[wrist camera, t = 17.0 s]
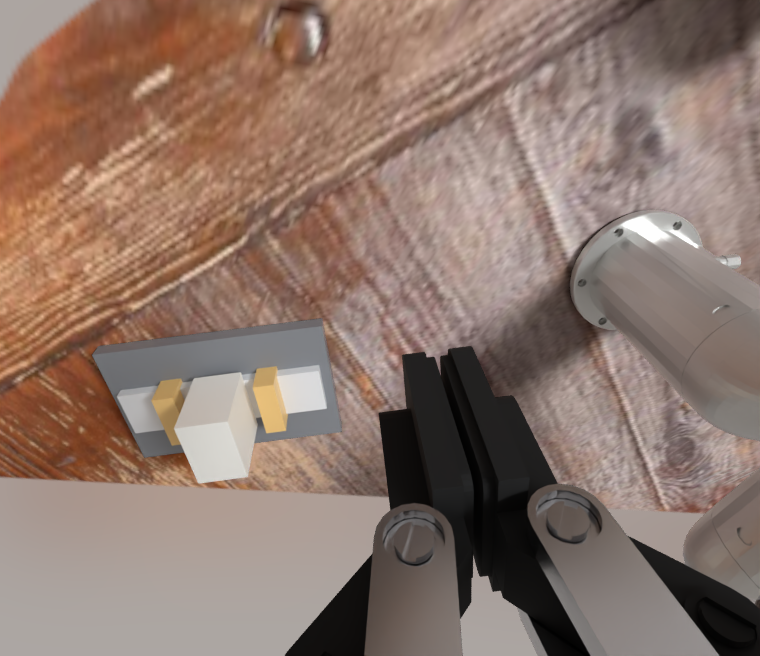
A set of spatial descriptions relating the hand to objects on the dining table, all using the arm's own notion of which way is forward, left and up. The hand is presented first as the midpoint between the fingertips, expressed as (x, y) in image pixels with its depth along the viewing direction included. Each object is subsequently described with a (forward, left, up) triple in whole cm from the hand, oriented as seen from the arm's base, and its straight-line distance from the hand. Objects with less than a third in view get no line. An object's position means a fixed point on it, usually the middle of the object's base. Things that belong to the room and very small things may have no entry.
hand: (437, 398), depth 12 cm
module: (+17, +23, -30) cm, 41 cm away
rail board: (+17, +23, -32) cm, 43 cm away
